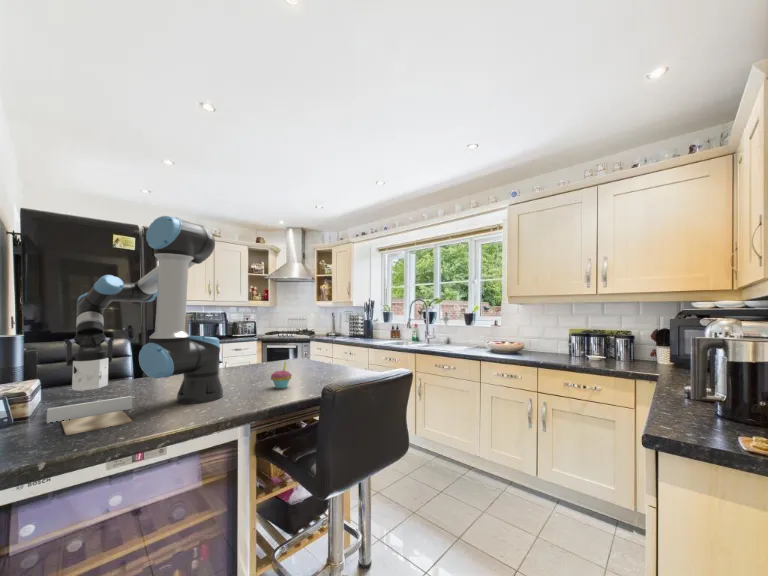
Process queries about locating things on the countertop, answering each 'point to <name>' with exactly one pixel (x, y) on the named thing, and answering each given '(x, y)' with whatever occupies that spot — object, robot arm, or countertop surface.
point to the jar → (90, 370)
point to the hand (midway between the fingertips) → (90, 379)
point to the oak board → (95, 422)
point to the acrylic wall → (88, 409)
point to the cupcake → (281, 378)
